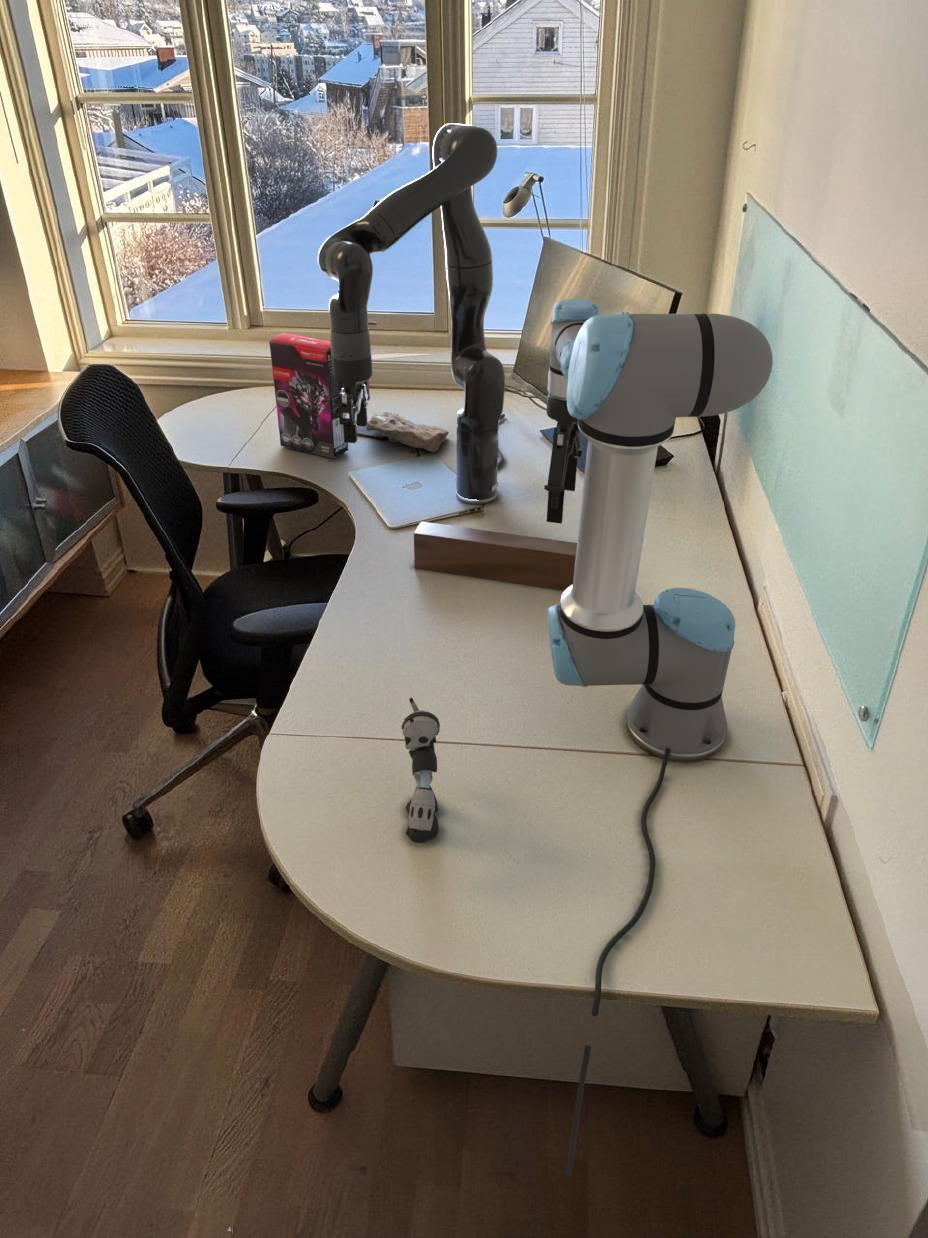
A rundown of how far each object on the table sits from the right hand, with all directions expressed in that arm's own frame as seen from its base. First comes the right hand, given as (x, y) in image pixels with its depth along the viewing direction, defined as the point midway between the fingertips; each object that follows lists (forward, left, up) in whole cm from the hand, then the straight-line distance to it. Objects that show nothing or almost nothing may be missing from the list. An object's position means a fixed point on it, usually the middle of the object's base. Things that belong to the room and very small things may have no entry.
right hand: (561, 505), depth 170 cm
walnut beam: (0, +12, -17) cm, 21 cm away
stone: (+57, +50, -17) cm, 78 cm away
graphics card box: (+46, +70, -17) cm, 85 cm away
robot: (-67, +6, -17) cm, 69 cm away
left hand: (+8, +43, +6) cm, 44 cm away
